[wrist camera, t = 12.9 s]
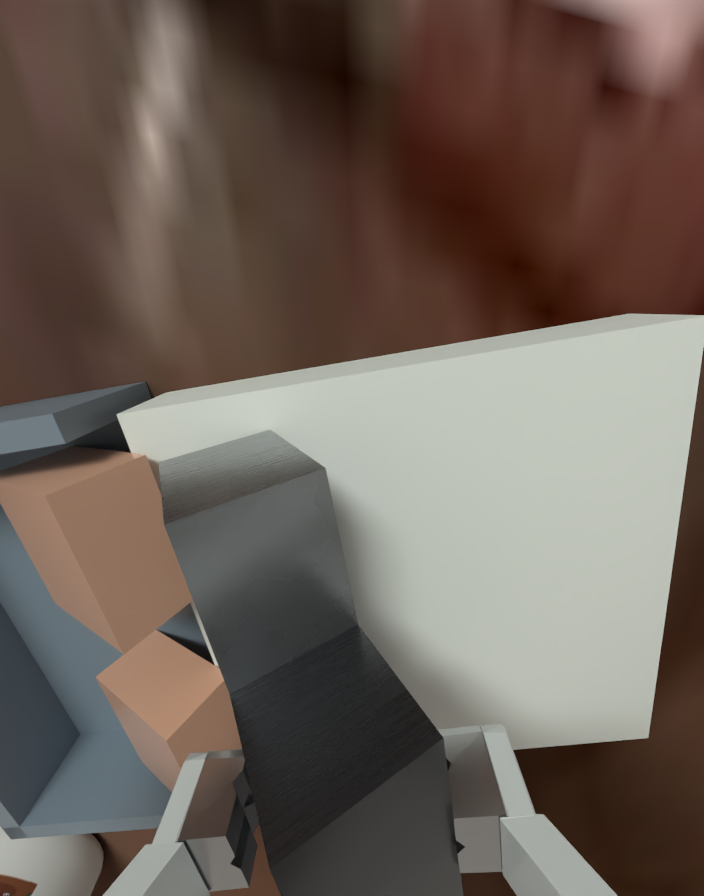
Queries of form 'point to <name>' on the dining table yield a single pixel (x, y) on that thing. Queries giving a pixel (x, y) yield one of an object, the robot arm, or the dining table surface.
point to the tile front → (98, 539)
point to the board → (492, 510)
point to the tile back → (169, 704)
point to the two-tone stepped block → (308, 679)
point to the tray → (66, 659)
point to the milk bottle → (49, 865)
